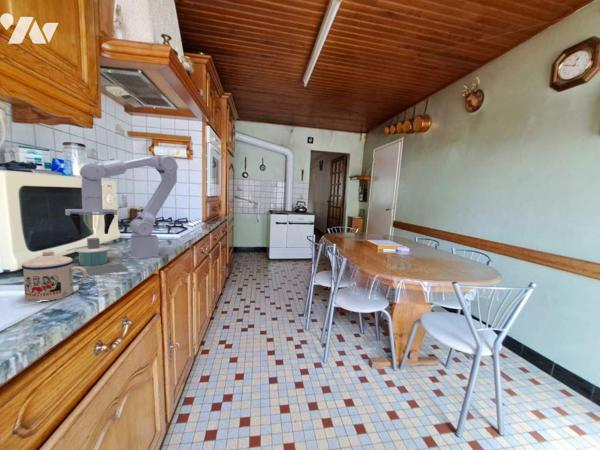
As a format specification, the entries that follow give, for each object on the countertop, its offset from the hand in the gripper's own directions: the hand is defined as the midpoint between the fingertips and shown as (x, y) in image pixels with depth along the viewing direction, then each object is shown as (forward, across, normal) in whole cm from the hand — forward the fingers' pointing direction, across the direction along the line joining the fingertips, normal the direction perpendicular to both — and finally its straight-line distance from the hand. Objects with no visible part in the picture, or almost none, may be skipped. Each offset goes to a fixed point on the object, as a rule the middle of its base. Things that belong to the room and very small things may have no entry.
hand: (93, 234), depth 92 cm
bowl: (+10, 0, -3) cm, 11 cm away
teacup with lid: (+11, -12, -31) cm, 35 cm away
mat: (+10, +1, -14) cm, 17 cm away
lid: (+5, 0, -3) cm, 6 cm away
